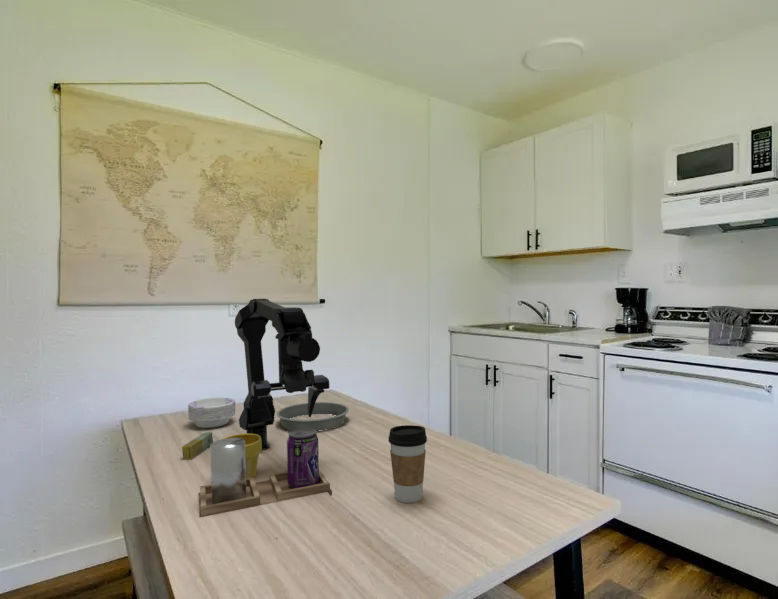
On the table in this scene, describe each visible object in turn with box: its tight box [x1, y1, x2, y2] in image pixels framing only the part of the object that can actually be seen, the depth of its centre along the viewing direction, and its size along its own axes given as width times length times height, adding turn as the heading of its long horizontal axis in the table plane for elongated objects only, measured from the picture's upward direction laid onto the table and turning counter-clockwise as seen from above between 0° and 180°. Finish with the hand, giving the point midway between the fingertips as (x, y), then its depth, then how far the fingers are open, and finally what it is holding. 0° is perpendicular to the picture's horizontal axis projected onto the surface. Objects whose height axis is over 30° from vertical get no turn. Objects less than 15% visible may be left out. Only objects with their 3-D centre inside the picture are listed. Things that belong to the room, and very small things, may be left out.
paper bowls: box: [187, 396, 236, 429], centre depth 156 cm, size 15×15×8 cm
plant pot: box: [221, 433, 263, 478], centre depth 109 cm, size 10×10×10 cm
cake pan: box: [276, 401, 350, 432], centre depth 156 cm, size 25×25×4 cm
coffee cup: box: [388, 425, 428, 504], centre depth 98 cm, size 8×8×15 cm
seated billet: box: [209, 438, 246, 504], centre depth 97 cm, size 7×7×12 cm
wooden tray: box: [198, 468, 333, 518], centre depth 100 cm, size 12×27×2 cm, turn 113°
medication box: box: [181, 431, 214, 461], centre depth 129 cm, size 12×3×4 cm, turn 174°
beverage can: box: [286, 428, 320, 488], centre depth 104 cm, size 7×7×12 cm
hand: (291, 419), depth 114 cm, fingers open, 9 cm apart
